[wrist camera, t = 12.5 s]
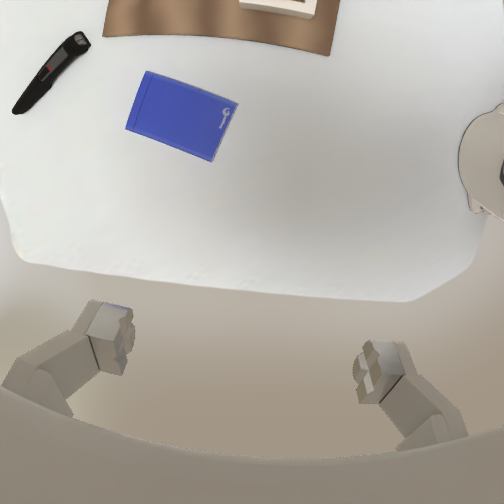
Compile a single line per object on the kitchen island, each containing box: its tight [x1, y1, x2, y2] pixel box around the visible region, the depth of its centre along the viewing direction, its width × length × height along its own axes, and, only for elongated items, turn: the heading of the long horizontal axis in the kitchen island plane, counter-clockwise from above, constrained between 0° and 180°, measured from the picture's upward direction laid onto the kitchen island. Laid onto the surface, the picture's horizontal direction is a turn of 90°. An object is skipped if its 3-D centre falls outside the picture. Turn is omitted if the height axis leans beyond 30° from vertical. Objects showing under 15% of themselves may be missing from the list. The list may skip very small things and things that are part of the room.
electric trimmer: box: [12, 31, 91, 115], centre depth 29 cm, size 4×16×3 cm, turn 120°
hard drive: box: [125, 71, 238, 162], centre depth 34 cm, size 2×8×12 cm
